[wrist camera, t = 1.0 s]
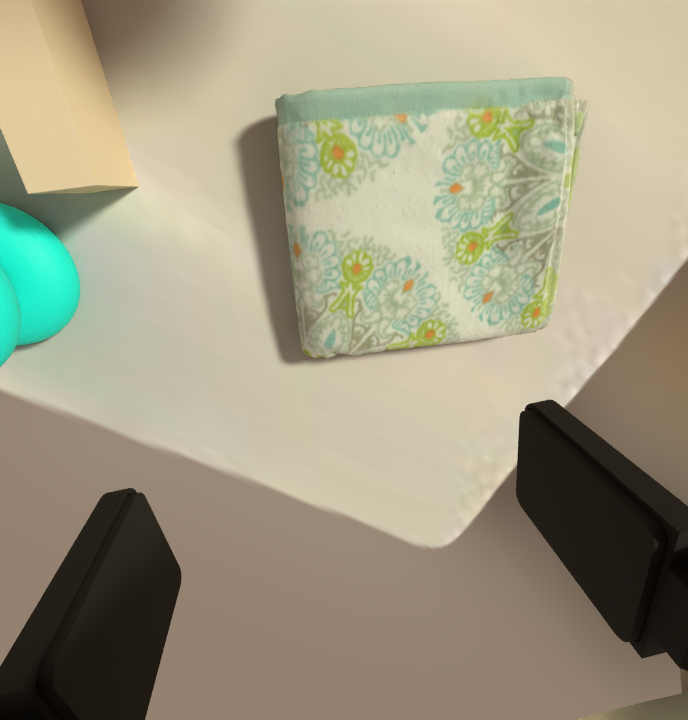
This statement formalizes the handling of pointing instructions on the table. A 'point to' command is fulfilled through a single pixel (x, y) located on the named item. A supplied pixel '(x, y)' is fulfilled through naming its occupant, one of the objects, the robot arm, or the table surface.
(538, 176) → the towel
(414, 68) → the table surface
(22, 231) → the donuts
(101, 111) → the cream rectangular block
